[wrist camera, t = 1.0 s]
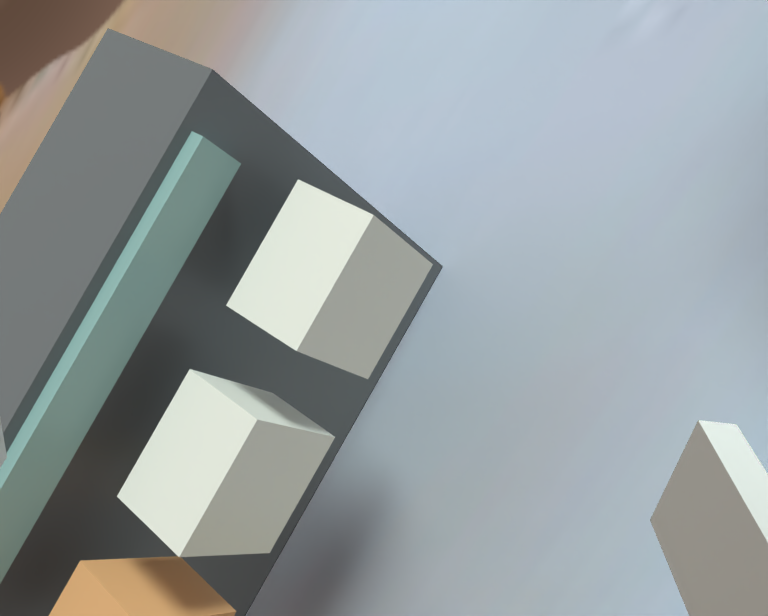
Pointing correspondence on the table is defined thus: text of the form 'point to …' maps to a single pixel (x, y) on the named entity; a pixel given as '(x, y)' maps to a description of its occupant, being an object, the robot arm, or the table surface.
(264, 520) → the key middle
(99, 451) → the keypad console
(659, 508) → the robot arm
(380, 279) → the white key
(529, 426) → the table surface
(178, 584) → the key prompted
